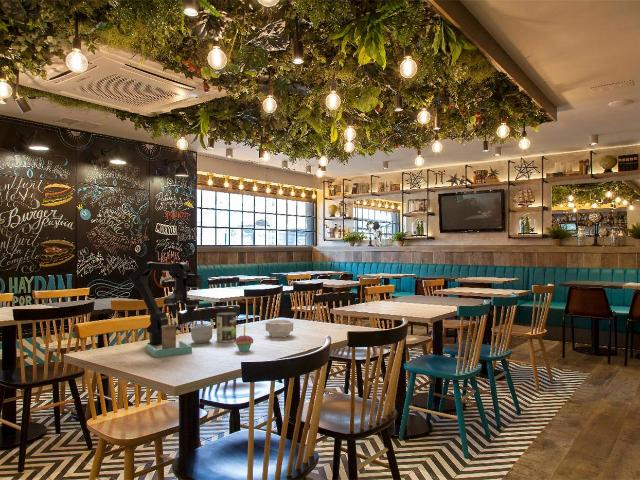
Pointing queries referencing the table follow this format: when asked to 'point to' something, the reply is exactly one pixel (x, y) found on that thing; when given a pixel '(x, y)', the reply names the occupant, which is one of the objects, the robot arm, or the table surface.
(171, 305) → the robot arm
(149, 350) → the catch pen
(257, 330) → the table surface
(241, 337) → the cupcake
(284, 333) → the paper bowls
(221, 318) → the coffee can
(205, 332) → the teacup
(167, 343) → the handle block
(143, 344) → the table surface
